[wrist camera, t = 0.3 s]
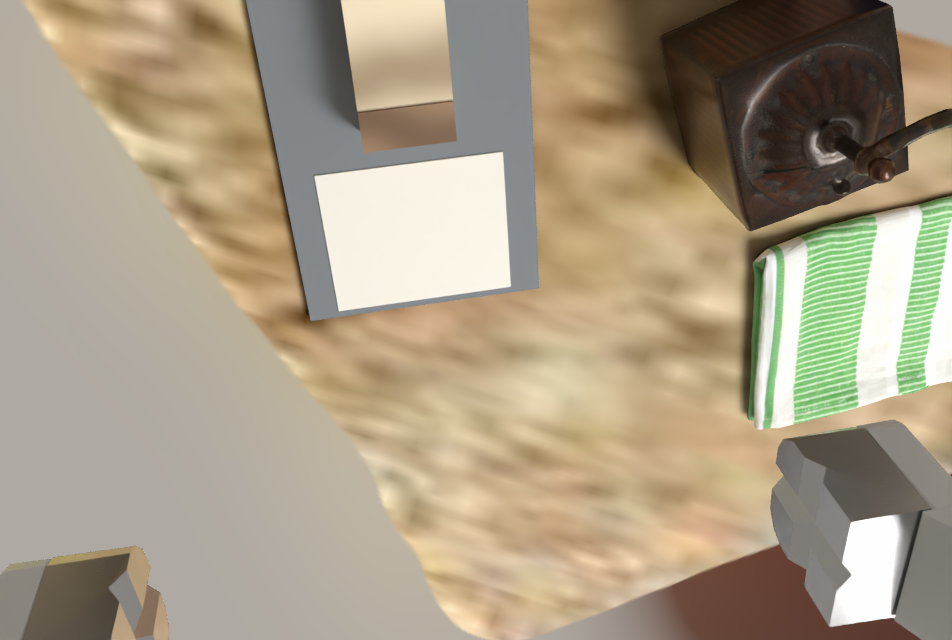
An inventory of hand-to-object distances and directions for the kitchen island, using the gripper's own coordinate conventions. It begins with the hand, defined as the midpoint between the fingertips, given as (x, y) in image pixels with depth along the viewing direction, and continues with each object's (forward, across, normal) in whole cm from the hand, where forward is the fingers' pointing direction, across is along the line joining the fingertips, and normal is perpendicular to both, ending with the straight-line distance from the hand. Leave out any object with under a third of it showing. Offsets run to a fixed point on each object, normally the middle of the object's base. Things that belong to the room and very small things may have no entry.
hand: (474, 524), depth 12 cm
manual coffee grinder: (+46, -27, +11) cm, 55 cm away
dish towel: (+47, -38, +31) cm, 68 cm away
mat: (+46, -2, +13) cm, 48 cm away
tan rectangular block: (+46, -2, +7) cm, 46 cm away
